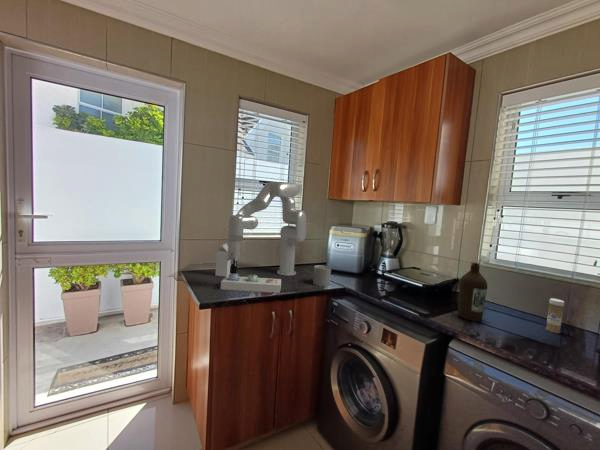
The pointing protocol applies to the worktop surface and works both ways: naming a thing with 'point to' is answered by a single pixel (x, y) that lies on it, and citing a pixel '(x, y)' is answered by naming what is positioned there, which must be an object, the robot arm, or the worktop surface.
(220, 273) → the milk carton
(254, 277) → the button three
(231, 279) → the button two
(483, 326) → the worktop surface
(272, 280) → the button one
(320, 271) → the coffee mug
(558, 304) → the sprinkles bottle
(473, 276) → the olive oil
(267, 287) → the button board
